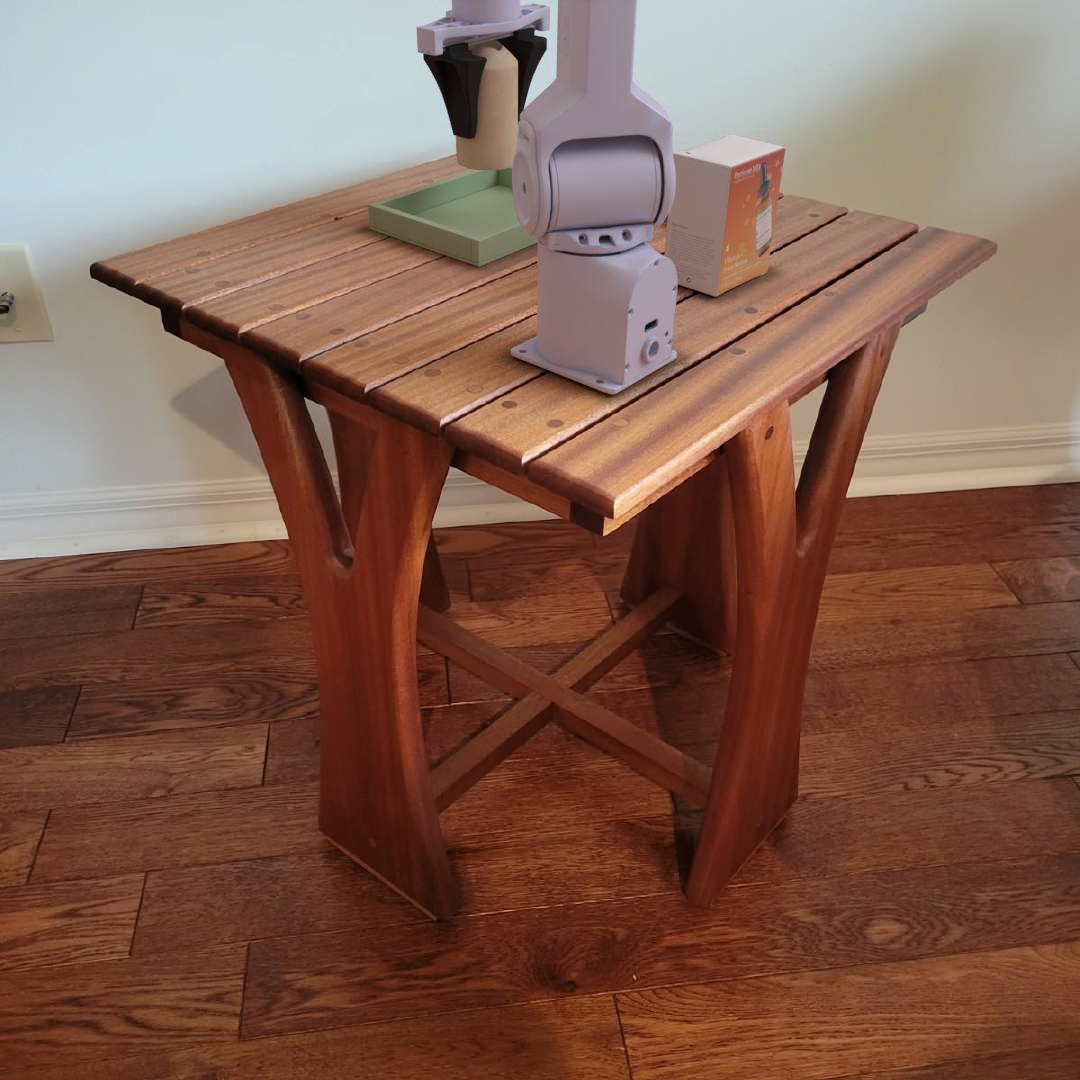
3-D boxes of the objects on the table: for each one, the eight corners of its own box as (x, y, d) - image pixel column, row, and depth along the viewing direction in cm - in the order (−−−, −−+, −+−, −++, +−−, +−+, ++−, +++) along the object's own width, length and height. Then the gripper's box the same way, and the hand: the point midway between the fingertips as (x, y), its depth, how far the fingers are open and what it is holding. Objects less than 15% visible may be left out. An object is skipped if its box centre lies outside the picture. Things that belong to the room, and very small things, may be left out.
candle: (510, 173, 96) (510, 51, 90) (449, 168, 97) (445, 47, 91) (523, 155, 101) (524, 38, 95) (465, 151, 101) (462, 34, 96)
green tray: (604, 215, 104) (605, 190, 103) (478, 267, 93) (478, 240, 92) (498, 184, 111) (497, 161, 110) (369, 229, 100) (367, 204, 99)
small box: (715, 299, 88) (730, 167, 82) (660, 280, 91) (670, 151, 85) (770, 272, 93) (788, 145, 87) (715, 255, 96) (729, 131, 90)
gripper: (507, -57, 96) (507, 105, 104) (386, -39, 87) (396, 137, 95) (570, -48, 92) (565, 119, 100) (450, -29, 83) (456, 153, 91)
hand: (487, 129), depth 97 cm, fingers closed on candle, 5 cm apart
